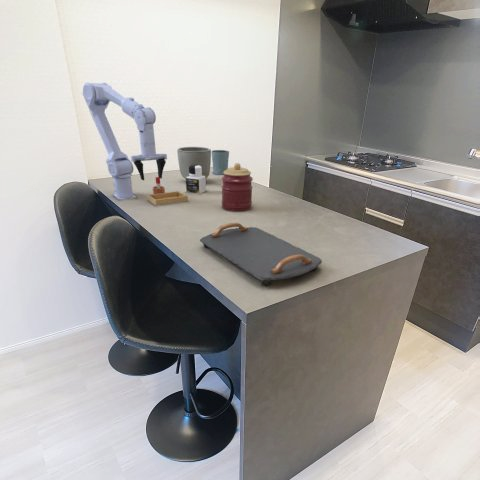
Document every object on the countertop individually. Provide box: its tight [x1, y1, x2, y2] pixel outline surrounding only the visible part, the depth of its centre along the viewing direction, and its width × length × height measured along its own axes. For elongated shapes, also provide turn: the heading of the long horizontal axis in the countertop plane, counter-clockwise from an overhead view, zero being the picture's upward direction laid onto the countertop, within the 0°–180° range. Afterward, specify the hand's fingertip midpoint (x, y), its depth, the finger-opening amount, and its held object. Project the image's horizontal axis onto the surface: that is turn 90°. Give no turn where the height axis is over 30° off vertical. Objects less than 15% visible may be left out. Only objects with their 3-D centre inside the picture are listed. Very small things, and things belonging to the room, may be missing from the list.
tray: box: [147, 190, 189, 206], centre depth 157 cm, size 10×15×2 cm, turn 122°
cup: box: [152, 185, 166, 194], centre depth 162 cm, size 5×5×4 cm
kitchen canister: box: [221, 162, 254, 212], centre depth 147 cm, size 13×13×18 cm
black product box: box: [185, 165, 207, 194], centre depth 169 cm, size 7×7×12 cm
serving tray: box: [199, 222, 323, 287], centre depth 107 cm, size 39×23×6 cm, turn 35°
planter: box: [176, 146, 212, 180], centre depth 185 cm, size 17×17×16 cm
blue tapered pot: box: [211, 149, 230, 176], centre depth 206 cm, size 10×10×12 cm
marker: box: [154, 176, 161, 189], centre depth 161 cm, size 2×2×8 cm
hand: (151, 178), depth 148 cm, fingers open, 7 cm apart
